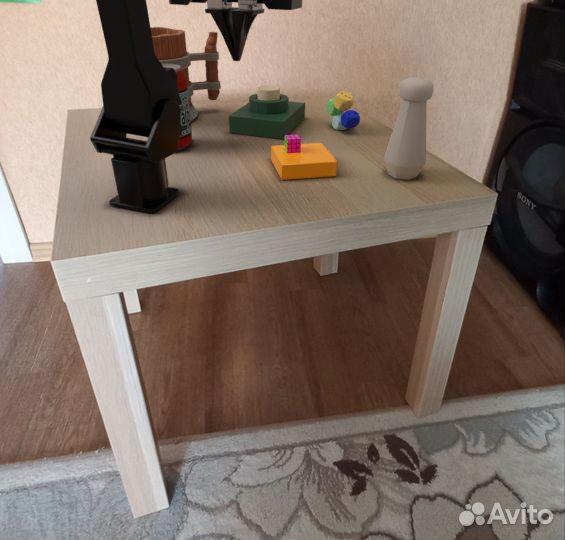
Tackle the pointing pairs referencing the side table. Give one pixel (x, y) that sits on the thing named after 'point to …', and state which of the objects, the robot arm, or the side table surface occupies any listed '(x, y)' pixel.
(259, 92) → the beige round button
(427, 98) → the salt shaker
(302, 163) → the orange square block
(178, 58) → the mug
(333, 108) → the dice
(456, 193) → the side table surface
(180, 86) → the beverage can
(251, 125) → the green base with socket
